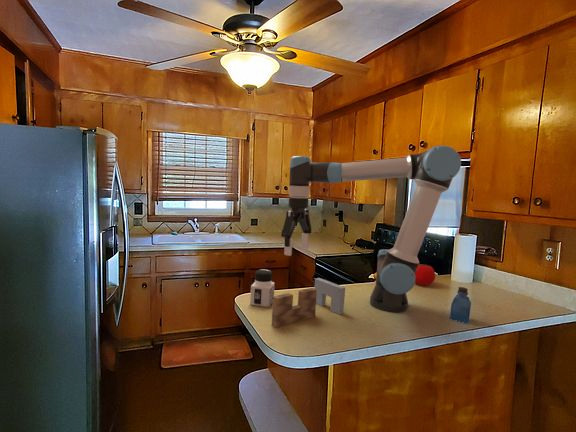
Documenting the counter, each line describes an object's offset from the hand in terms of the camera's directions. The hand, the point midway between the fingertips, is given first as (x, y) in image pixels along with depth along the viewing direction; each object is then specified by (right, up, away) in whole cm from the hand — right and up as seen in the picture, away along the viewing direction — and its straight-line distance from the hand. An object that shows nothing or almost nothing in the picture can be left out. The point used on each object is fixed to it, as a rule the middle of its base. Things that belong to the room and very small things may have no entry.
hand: (296, 252), depth 130 cm
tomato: (+65, -21, +41) cm, 79 cm away
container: (-14, -21, +3) cm, 25 cm away
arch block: (+12, -22, +2) cm, 25 cm away
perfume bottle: (+62, -25, -2) cm, 67 cm away
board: (-1, -23, -12) cm, 26 cm away
